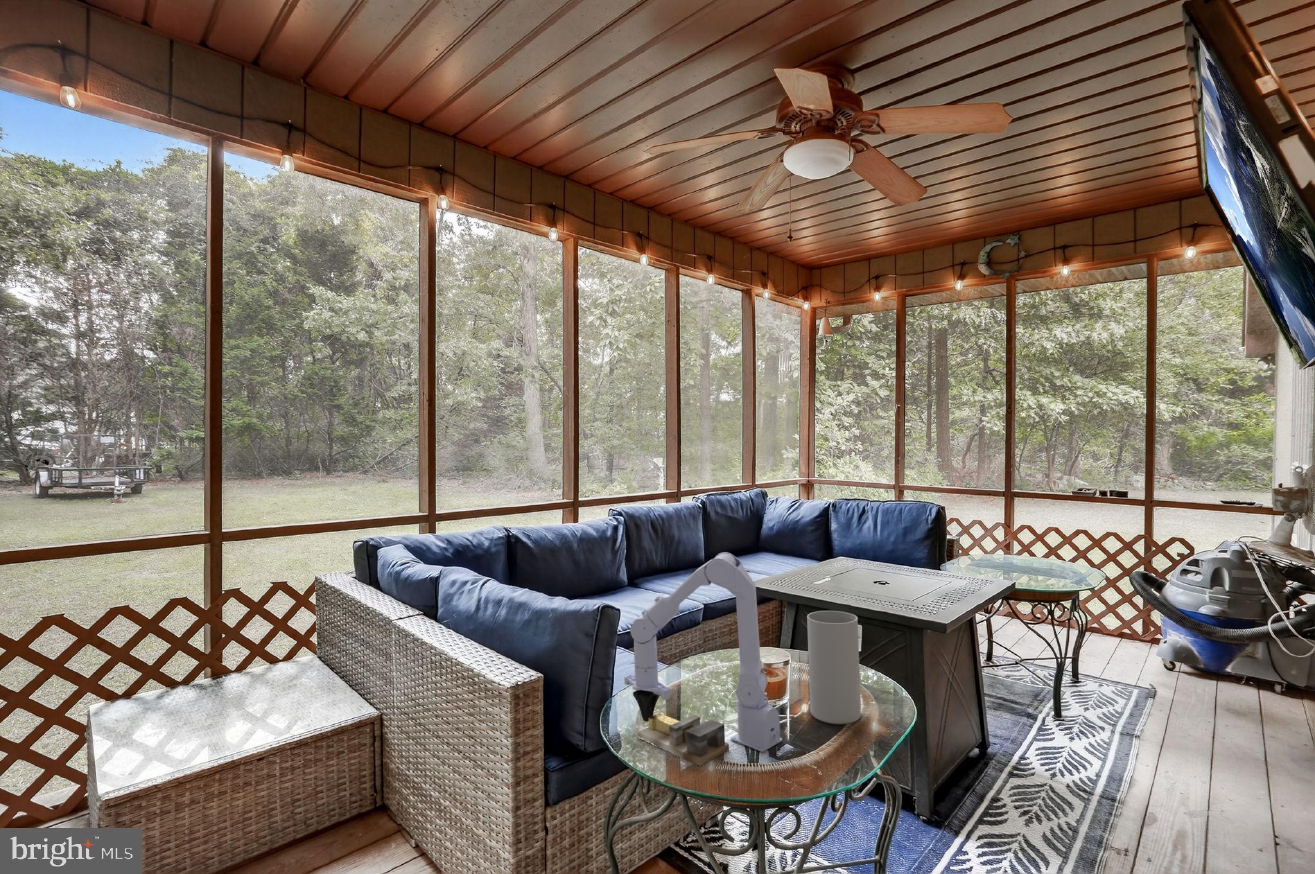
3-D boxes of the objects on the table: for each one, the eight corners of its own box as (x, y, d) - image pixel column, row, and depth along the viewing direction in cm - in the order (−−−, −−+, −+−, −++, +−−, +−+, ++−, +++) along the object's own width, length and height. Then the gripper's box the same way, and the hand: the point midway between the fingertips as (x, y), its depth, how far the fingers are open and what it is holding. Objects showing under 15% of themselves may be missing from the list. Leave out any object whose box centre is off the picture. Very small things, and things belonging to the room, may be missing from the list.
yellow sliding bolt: (697, 737, 150) (697, 726, 150) (684, 743, 147) (684, 732, 147) (661, 722, 158) (661, 712, 159) (648, 728, 155) (648, 717, 155)
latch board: (729, 750, 147) (728, 723, 147) (699, 766, 140) (698, 738, 140) (667, 725, 161) (666, 700, 161) (637, 738, 154) (637, 713, 154)
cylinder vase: (830, 729, 156) (826, 626, 156) (800, 710, 168) (797, 614, 168) (871, 719, 161) (868, 619, 161) (839, 702, 172) (836, 608, 173)
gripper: (614, 662, 162) (616, 716, 161) (654, 675, 151) (656, 733, 151) (635, 655, 167) (637, 708, 166) (675, 668, 156) (677, 724, 156)
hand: (647, 719), depth 159 cm, fingers closed
